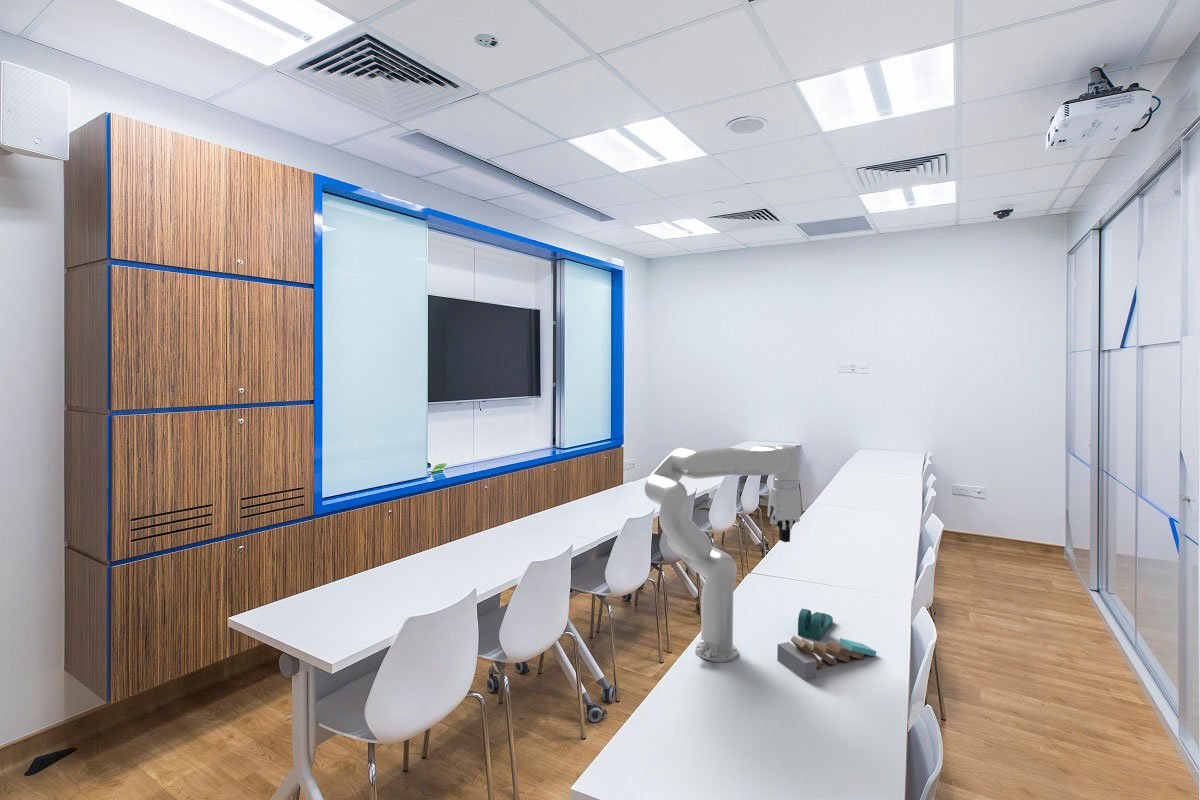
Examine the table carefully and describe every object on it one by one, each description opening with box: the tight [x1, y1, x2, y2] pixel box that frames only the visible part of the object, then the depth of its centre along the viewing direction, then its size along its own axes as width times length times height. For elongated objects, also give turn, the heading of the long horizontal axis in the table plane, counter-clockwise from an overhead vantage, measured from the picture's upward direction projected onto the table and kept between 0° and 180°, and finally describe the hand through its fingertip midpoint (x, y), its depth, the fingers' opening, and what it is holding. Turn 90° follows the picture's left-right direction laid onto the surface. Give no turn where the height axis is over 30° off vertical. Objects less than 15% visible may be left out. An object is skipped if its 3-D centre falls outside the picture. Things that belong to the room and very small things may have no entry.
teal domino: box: [838, 637, 877, 657], centre depth 175 cm, size 2×5×10 cm
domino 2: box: [801, 638, 837, 667], centre depth 169 cm, size 2×5×10 cm
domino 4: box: [826, 640, 865, 660], centre depth 173 cm, size 2×5×10 cm
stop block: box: [776, 641, 818, 681], centre depth 167 cm, size 4×12×5 cm, turn 20°
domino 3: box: [812, 640, 851, 663], centre depth 171 cm, size 2×5×10 cm
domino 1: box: [790, 635, 824, 670], centre depth 168 cm, size 2×5×10 cm
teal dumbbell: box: [797, 608, 834, 642], centre depth 193 cm, size 18×7×8 cm, turn 142°
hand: (784, 540), depth 184 cm, fingers closed
